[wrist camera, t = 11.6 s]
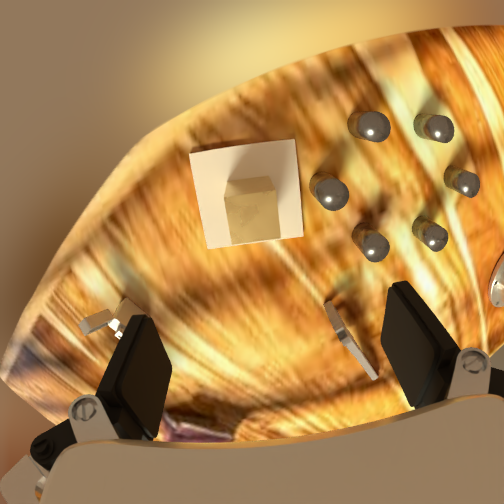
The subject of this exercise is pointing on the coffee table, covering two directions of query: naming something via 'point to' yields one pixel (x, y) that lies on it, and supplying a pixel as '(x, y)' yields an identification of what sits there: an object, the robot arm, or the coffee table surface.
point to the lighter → (111, 318)
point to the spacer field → (426, 230)
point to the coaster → (241, 167)
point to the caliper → (348, 339)
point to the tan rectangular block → (252, 210)
